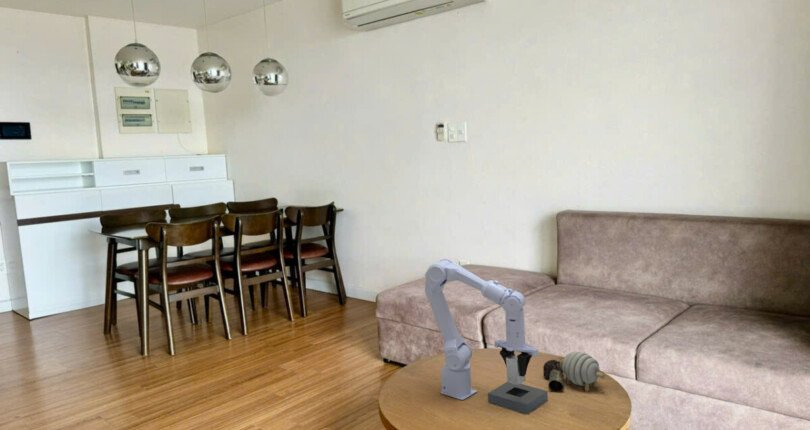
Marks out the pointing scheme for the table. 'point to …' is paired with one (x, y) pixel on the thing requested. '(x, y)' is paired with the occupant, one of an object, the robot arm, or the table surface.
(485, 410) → the table surface
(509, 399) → the grey slab with hole
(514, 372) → the grey wooden block
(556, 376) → the tube with rough end
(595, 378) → the toy sheep
